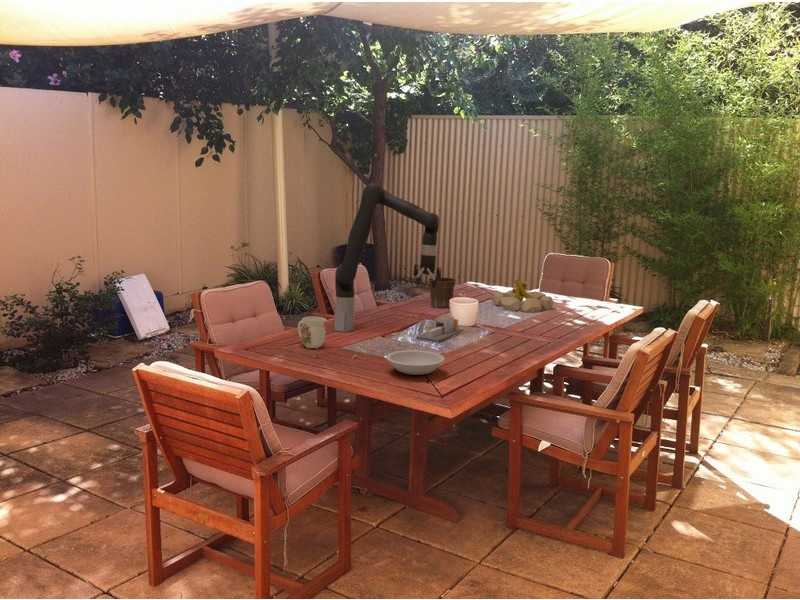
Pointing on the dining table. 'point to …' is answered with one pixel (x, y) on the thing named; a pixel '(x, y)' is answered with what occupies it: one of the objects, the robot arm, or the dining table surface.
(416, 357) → the soup bowl
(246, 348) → the dining table surface
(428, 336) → the coupler stand
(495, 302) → the campfire
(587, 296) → the dining table surface
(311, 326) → the pitcher
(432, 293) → the plant pot
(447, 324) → the lock block
